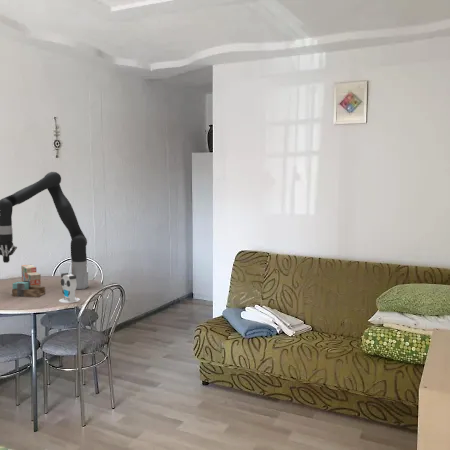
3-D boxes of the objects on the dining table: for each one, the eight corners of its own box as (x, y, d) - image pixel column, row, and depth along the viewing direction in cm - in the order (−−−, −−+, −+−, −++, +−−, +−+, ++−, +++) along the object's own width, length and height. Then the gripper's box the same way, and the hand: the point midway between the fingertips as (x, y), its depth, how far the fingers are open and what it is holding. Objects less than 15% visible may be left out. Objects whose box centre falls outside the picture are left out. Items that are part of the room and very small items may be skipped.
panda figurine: (55, 299, 273) (54, 273, 271) (73, 296, 281) (73, 271, 279) (64, 304, 264) (64, 277, 263) (83, 300, 272) (83, 274, 271)
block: (28, 292, 285) (28, 282, 285) (24, 294, 280) (23, 284, 280) (17, 291, 286) (17, 281, 285) (12, 293, 281) (12, 283, 280)
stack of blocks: (40, 289, 298) (40, 269, 297) (30, 290, 295) (30, 270, 294) (31, 282, 316) (31, 264, 314) (21, 283, 312) (21, 265, 311)
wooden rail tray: (45, 293, 286) (44, 281, 285) (38, 297, 278) (38, 284, 277) (19, 292, 288) (19, 280, 287) (12, 296, 279) (12, 283, 279)
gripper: (19, 232, 283) (20, 261, 285) (-2, 232, 285) (-2, 260, 286) (13, 234, 276) (13, 263, 278) (-10, 233, 277) (-9, 263, 279)
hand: (6, 262), depth 282 cm, fingers closed
